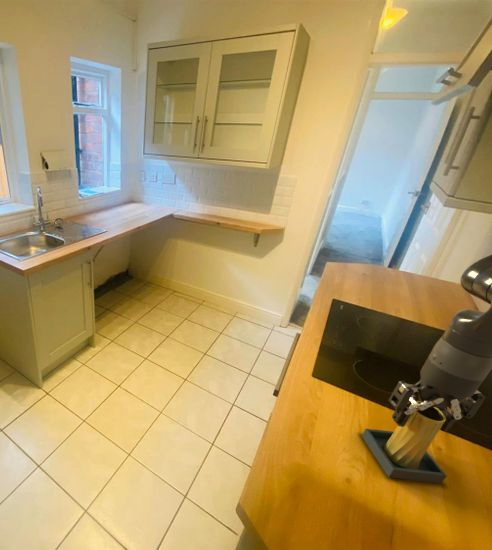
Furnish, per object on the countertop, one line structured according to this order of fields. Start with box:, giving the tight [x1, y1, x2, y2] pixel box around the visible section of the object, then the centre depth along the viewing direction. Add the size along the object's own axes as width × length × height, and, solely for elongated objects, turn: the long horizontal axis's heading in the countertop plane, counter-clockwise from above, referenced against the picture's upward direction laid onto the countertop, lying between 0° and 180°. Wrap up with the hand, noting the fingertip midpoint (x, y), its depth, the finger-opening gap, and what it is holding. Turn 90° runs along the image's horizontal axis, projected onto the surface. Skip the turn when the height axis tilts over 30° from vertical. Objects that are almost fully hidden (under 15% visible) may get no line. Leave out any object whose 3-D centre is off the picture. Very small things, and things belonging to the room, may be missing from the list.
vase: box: [384, 400, 446, 470], centre depth 64 cm, size 6×6×14 cm
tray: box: [361, 428, 448, 484], centre depth 67 cm, size 10×10×3 cm
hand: (418, 425), depth 63 cm, fingers open, 7 cm apart
